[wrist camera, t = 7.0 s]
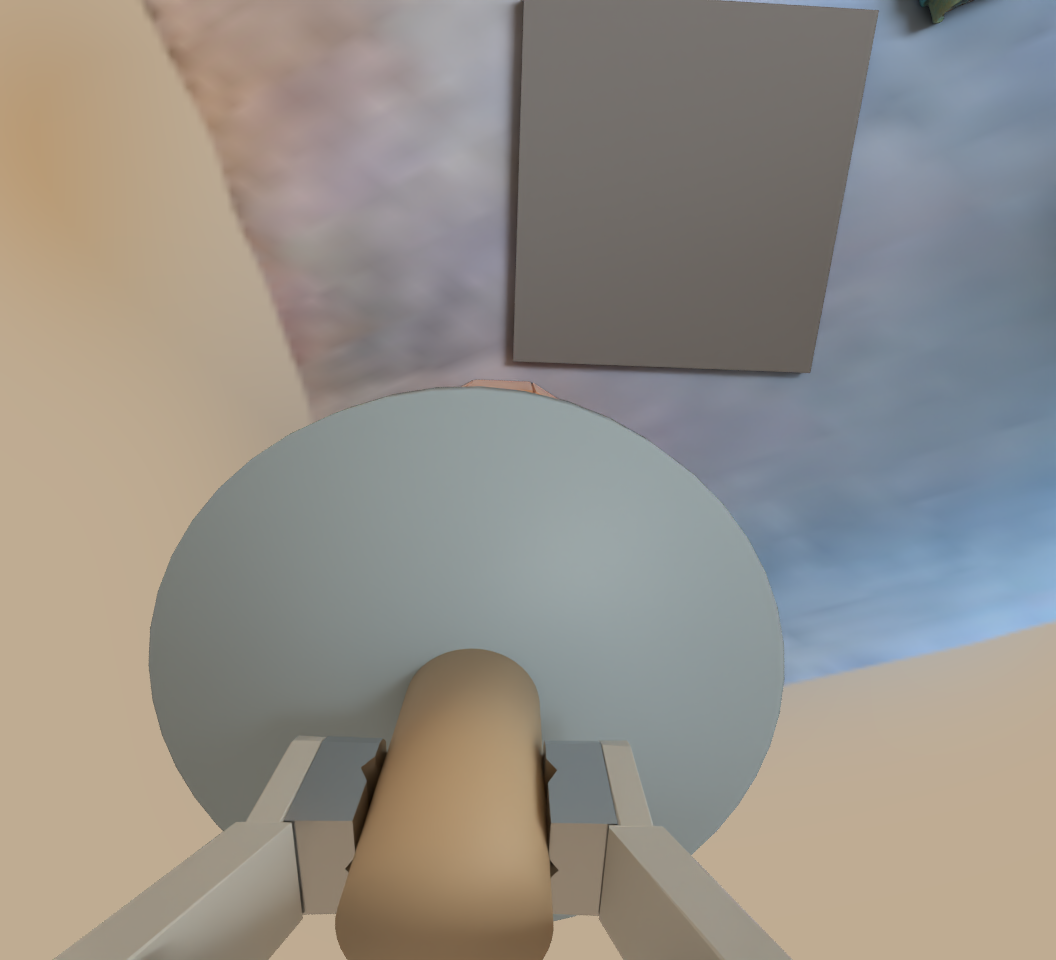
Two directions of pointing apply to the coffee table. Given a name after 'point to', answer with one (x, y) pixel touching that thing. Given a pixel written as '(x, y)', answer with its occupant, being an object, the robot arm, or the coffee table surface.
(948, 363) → the coffee table surface
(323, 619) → the lid
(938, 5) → the dish towel
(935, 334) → the coffee table surface
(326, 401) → the coffee table surface
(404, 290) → the coffee table surface
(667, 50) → the mat
